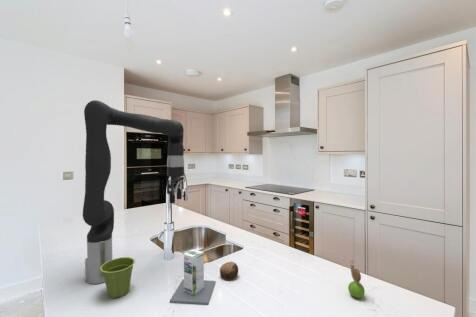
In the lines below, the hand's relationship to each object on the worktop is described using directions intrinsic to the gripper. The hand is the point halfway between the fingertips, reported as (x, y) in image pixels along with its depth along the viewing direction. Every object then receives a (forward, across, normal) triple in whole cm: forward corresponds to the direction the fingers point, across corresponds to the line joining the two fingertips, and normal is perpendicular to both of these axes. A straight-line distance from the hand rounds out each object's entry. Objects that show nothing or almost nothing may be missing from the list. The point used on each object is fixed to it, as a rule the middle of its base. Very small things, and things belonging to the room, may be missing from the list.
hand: (175, 201), depth 105 cm
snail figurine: (+32, +12, +74) cm, 82 cm away
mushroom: (+32, +3, +25) cm, 41 cm away
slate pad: (+32, +16, +13) cm, 38 cm away
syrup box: (+31, +15, +13) cm, 37 cm away
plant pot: (+32, +19, -16) cm, 40 cm away
